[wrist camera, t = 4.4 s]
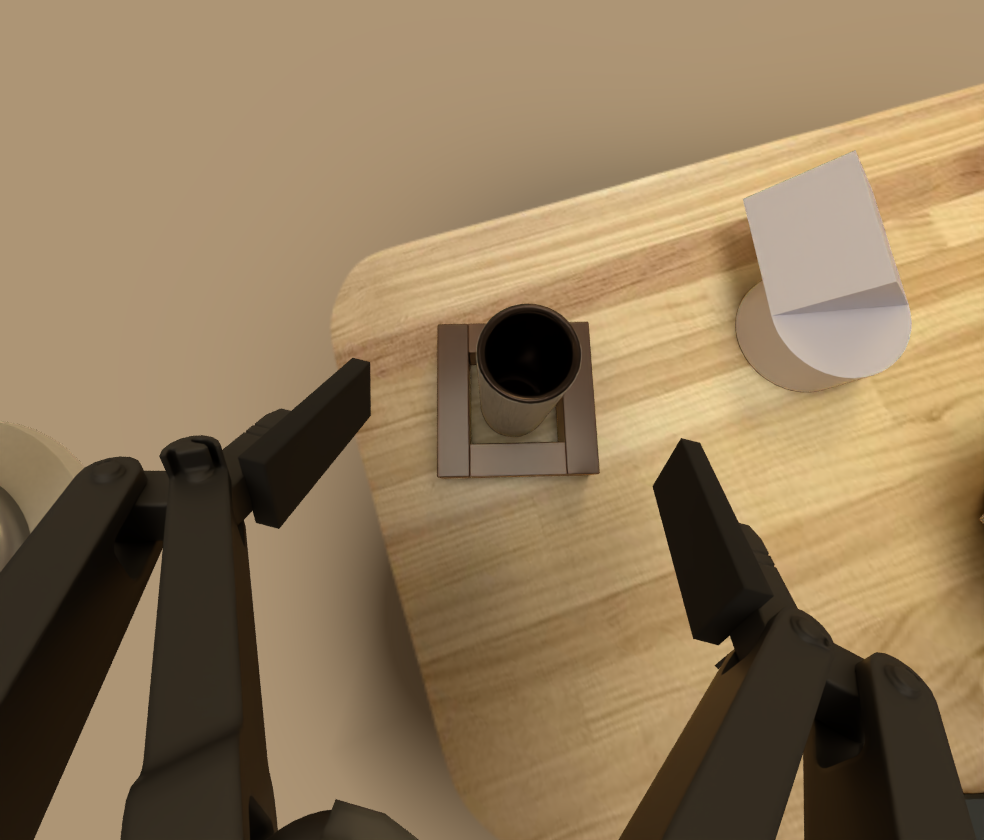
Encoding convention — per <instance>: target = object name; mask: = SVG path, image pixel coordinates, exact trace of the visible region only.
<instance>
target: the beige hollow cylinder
mask: <svg viewBox="0 0 984 840" xmlns="http://www.w3.org/2000/svg"><path fill="white" fill-rule="evenodd" d="M581 359H582V351H581V345H580V341H579V338H578V336H577V333H576V332H575V330H574V328H573V327H572V325H571V324H570V323H569V322H568V321H567V320H566V319H565V318H564V317H563V316H562V315H561V314H559V313H558V312H556V311H554V310H552V309H550V308H548V307H545V306H541V305H536V304H519V305H515V306H511V307H508V308H506V309H504V310H502V311H500V312H499V313H497V314H496V315H494V316H493V317H492V318H491V319H490V320H489V321H488V322H487V324H486V325H485V326H484V328H483V329H482V331H481V333H480V336H479V338H478V342H477V348H476V360H477V372H478V383H479V394H480V405H481V411H482V414H483V417H484V419H485V421H486V422H487V424H488V425H489V426H490V427H491V428H492V429H493V430H495V431H496V432H498V433H500V434H502V435H505V436H511V437H517V436H522V435H525V434H528V433H530V432H531V431H533V430H534V429H536V428H537V427H538V426H539V425H540V424H541V422H542V421H543V420H544V419H545V417H546V416H547V415H548V414H549V412H550V411H551V410H552V409H553V407H554V406H555V405H556V404H557V402H558V401H559V400H560V399H561V397H562V396H563V395H564V394H565V392H566V391H567V390H568V389H569V387H570V386H571V385H572V383H573V382H574V380H575V379H576V377H577V375H578V372H579V369H580V366H581Z"/></svg>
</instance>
